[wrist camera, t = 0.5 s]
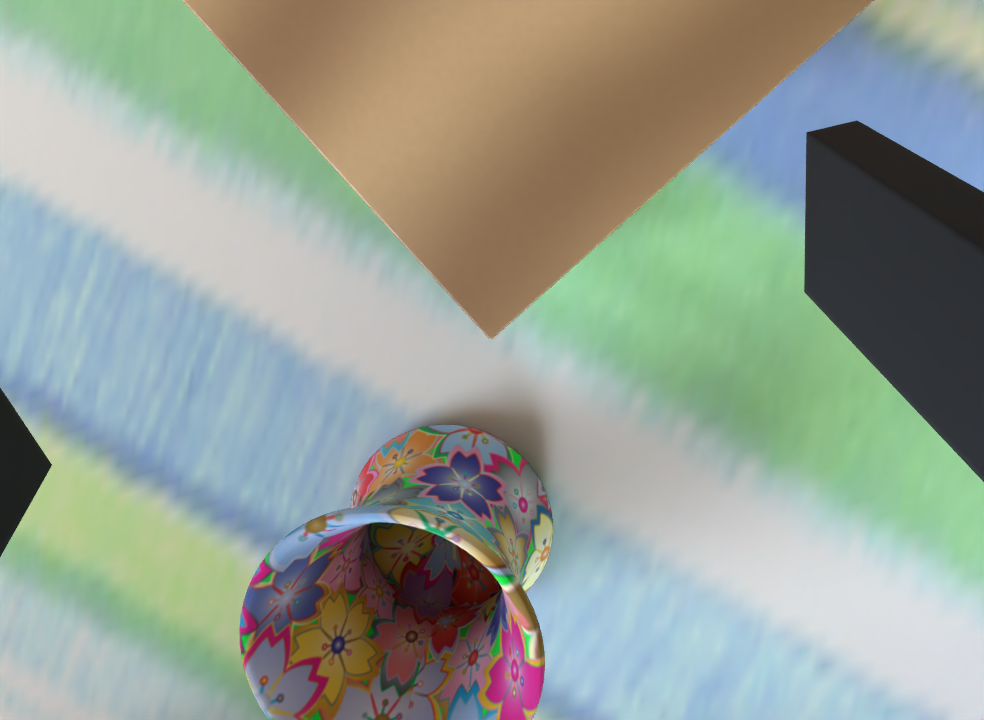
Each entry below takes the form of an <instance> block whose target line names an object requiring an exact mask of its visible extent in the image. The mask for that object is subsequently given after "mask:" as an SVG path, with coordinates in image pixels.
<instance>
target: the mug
mask: <svg viewBox="0 0 984 720" xmlns="http://www.w3.org/2000/svg"><path fill="white" fill-rule="evenodd" d="M552 537H553V519H552V512H551V508H550V503H549V500H548V497H547V494H546V492H545V490H544V487H543V485H542V483H541V481H540V480H539V478H538V476H537V474H536V473H535V472H534V470H533V469H532V467H531V466H530V465H529V464H528V463H527V461H526V460H525V459H524V458H523V457H522V456H521V455H520V454H519V453H518V452H517V451H515V450H514V449H513V448H512V447H510V446H509V445H508V444H506V443H504V442H503V441H501V440H500V439H498V438H496V437H494V436H492V435H490V434H488V433H485V432H483V431H480V430H477V429H473V428H470V427H465V426H458V425H432V426H426V427H421V428H417V429H414V430H411V431H408V432H406V433H403V434H401V435H399V436H397V437H395V438H394V439H392V440H390V441H389V442H388V443H386V444H385V445H383V446H382V447H381V448H380V449H379V450H378V451H377V452H376V453H375V454H374V455H373V456H372V457H371V458H370V459H369V461H368V462H367V463H366V465H365V466H364V468H363V470H362V471H361V473H360V475H359V477H358V479H357V482H356V485H355V487H354V491H353V495H352V500H351V508H347V509H342V510H338V511H335V512H331V513H328V514H325V515H322V516H320V517H318V518H315V519H313V520H311V521H309V522H307V523H305V524H303V525H301V526H300V527H298V528H297V529H295V530H294V531H292V532H291V533H289V534H288V535H287V536H286V537H285V538H283V539H282V540H281V541H280V542H279V543H278V544H277V545H276V546H275V547H274V548H273V549H272V550H271V551H270V552H269V553H268V555H267V556H266V557H265V559H264V560H263V561H262V563H261V564H260V565H259V567H258V569H257V571H256V572H255V574H254V576H253V578H252V580H251V582H250V585H249V587H248V589H247V592H246V596H245V599H244V602H243V607H242V613H241V620H240V648H241V656H242V661H243V665H244V670H245V673H246V676H247V679H248V682H249V685H250V687H251V689H252V692H253V694H254V696H255V698H256V700H257V702H258V703H259V705H260V707H261V709H262V710H263V712H264V713H265V715H266V716H267V718H268V719H269V720H532V719H533V717H534V714H535V712H536V710H537V707H538V704H539V700H540V697H541V693H542V687H543V682H544V671H545V655H544V646H543V639H542V634H541V630H540V626H539V623H538V620H537V617H536V614H535V612H534V609H533V607H532V605H531V603H530V600H529V598H528V596H527V594H526V592H527V591H528V589H529V588H530V587H531V586H532V585H533V584H534V583H535V581H536V580H537V578H538V577H539V575H540V574H541V572H542V570H543V568H544V566H545V564H546V562H547V559H548V556H549V553H550V550H551V544H552Z"/></svg>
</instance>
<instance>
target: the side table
mask: <svg viewBox="0 0 984 720" xmlns="http://www.w3.org/2000/svg"><path fill="white" fill-rule="evenodd" d="M183 1H184V3H185V4H186V5H187V6H188V7H189V8H190V9H191V10H192V11H193V13H194V14H195V15H196V16H197V17H198V18H199V19H200V20H201V21H202V22H203V24H204V25H205V26H206V27H207V28H208V29H209V30H210V31H211V32H212V34H213V35H214V36H215V37H216V38H217V39H218V40H219V41H220V42H221V43H222V45H223V46H224V47H225V48H226V49H227V50H228V51H229V52H230V53H231V55H232V56H233V57H234V58H235V59H236V60H237V61H238V62H239V63H240V64H241V66H242V67H243V68H244V69H245V70H246V71H247V72H248V73H249V74H250V76H251V77H252V78H253V79H254V80H255V81H256V82H257V83H258V84H259V85H260V87H261V88H262V89H263V90H264V91H265V92H266V93H267V94H268V95H269V96H270V98H271V99H272V100H273V101H274V102H275V103H276V104H277V105H278V106H279V108H280V109H281V110H282V111H283V112H284V113H285V114H286V115H287V116H288V117H289V119H290V120H291V121H292V122H293V123H294V124H295V125H296V126H297V127H298V129H299V130H300V131H301V132H302V133H303V134H304V135H305V136H306V137H307V138H308V140H309V141H310V142H311V143H312V144H313V145H314V146H315V147H316V148H317V150H318V151H319V152H320V153H321V154H322V155H323V156H324V157H325V158H326V159H327V161H328V162H329V163H330V164H331V165H332V166H333V167H334V168H335V169H336V171H337V172H338V173H339V174H340V175H341V176H342V177H343V178H344V179H345V180H346V182H347V183H348V184H349V185H350V186H351V187H352V188H353V189H354V190H355V191H356V193H357V194H358V195H359V196H360V197H361V198H362V199H363V200H364V201H365V203H366V204H367V205H368V206H369V207H370V208H371V209H372V210H373V211H374V212H375V214H376V215H377V216H378V217H379V218H380V219H381V220H382V221H383V222H384V224H385V225H386V226H387V227H388V228H389V229H390V230H391V231H392V232H393V233H394V235H395V236H396V237H397V238H398V239H399V240H400V241H401V242H402V243H403V245H404V246H405V247H406V248H407V249H408V250H409V251H410V252H411V253H412V254H413V256H414V257H415V258H416V259H417V260H418V261H419V262H420V263H421V264H422V266H423V267H424V268H425V269H426V270H427V271H428V272H429V273H430V274H431V275H432V277H433V278H434V279H435V280H436V281H437V282H438V283H439V284H440V285H441V286H442V288H443V289H444V290H445V291H446V292H447V293H448V294H449V295H450V296H451V298H452V299H453V300H454V301H455V302H456V303H457V304H458V305H459V306H460V307H461V309H462V310H463V311H464V312H465V313H466V314H467V315H468V316H469V317H470V319H471V320H472V321H473V322H474V323H475V324H476V325H477V326H478V327H479V328H480V330H481V331H482V332H483V333H484V334H485V335H486V336H487V337H488V338H489V339H493V338H494V337H495V336H496V335H498V334H499V333H500V332H501V331H502V330H503V329H504V328H505V327H507V326H508V325H509V324H510V323H511V322H512V321H513V320H514V319H516V318H517V317H518V316H519V315H520V314H521V313H522V312H523V311H525V310H526V309H527V308H528V307H529V306H530V305H531V304H533V303H534V302H535V301H536V300H537V299H538V298H539V297H540V296H542V295H543V294H544V293H545V292H546V291H547V290H548V289H549V288H551V287H552V286H553V285H554V284H555V283H556V282H557V281H558V280H560V279H561V278H562V277H563V276H564V275H565V274H566V273H567V272H569V271H570V270H571V269H572V268H573V267H574V266H575V265H576V264H578V263H579V262H580V261H581V260H582V259H583V258H584V257H585V256H587V255H588V254H589V253H590V252H591V251H592V250H593V249H594V248H596V247H597V246H598V245H599V244H600V243H601V242H602V241H603V240H605V239H606V238H607V237H608V236H609V235H610V234H611V233H613V232H614V231H615V230H616V229H617V228H618V227H619V226H620V225H622V224H623V223H624V222H625V221H626V220H627V219H628V218H629V217H631V216H632V215H633V214H634V213H635V212H636V211H637V210H638V209H640V208H641V207H642V206H643V205H644V204H645V203H646V202H647V201H649V200H650V199H651V198H652V197H653V196H654V195H655V194H656V193H658V192H659V191H660V190H661V189H662V188H663V187H664V186H665V185H667V184H668V183H669V182H670V181H671V180H672V179H673V178H674V177H676V176H677V175H678V174H679V173H680V172H681V171H682V170H683V169H685V168H686V167H687V166H688V165H689V164H690V163H691V162H693V161H694V160H695V159H696V158H697V157H698V156H699V155H700V154H702V153H703V152H704V151H705V150H706V149H707V148H708V147H709V146H711V145H712V144H713V143H714V142H715V141H716V140H717V139H718V138H720V137H721V136H722V135H723V134H724V133H725V132H726V131H727V130H729V129H730V128H731V127H732V126H733V125H734V124H735V123H736V122H738V121H739V120H740V119H741V118H742V117H743V116H744V115H745V114H747V113H748V112H749V111H750V110H751V109H752V108H753V107H754V106H756V105H757V104H758V103H759V102H760V101H761V100H762V99H763V98H765V97H766V96H767V95H768V94H769V93H770V92H771V91H773V90H774V89H775V88H776V87H777V86H778V85H779V84H780V83H782V82H783V81H784V80H785V79H786V78H787V77H788V76H789V75H791V74H792V73H793V72H794V71H795V70H796V69H797V68H798V67H800V66H801V65H802V64H803V63H804V62H805V61H806V60H807V59H809V58H810V57H811V56H812V55H813V54H814V53H815V52H816V51H818V50H819V49H820V48H821V47H822V46H823V45H824V44H825V43H827V42H828V41H829V40H830V39H831V38H832V37H833V36H834V35H836V34H837V33H838V32H839V31H840V30H841V29H842V28H843V27H845V26H846V25H847V24H848V23H849V22H850V21H851V20H853V19H854V18H855V17H856V16H857V15H858V14H859V13H860V12H862V11H863V10H864V9H865V8H866V7H867V6H868V5H869V4H871V3H872V2H873V1H874V0H183Z"/></svg>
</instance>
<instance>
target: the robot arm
mask: <svg viewBox="0 0 984 720" xmlns="http://www.w3.org/2000/svg"><path fill="white" fill-rule="evenodd" d="M804 292H805V293H806V294H807V295H808V296H809V297H810V298H811V300H812V301H813V302H814V303H815V304H816V305H817V306H818V307H819V308H820V309H821V310H822V311H823V312H824V313H825V314H826V315H827V316H828V318H829V319H830V320H831V321H832V322H833V323H834V324H835V325H836V326H837V327H838V328H839V329H840V330H841V331H842V332H843V333H844V334H845V335H846V337H847V338H848V339H849V340H850V341H851V342H852V343H853V344H854V345H855V346H856V347H857V348H858V349H859V350H860V351H861V352H862V353H863V355H864V356H865V357H866V358H867V359H868V360H869V361H870V362H871V363H872V364H873V365H874V366H875V367H876V368H877V369H878V370H879V371H880V373H881V374H882V375H883V376H884V377H885V378H886V379H887V380H888V381H889V382H890V383H891V384H892V385H893V386H894V387H895V388H896V389H897V391H898V392H899V393H900V394H901V395H902V396H903V397H904V398H905V399H906V400H907V401H908V402H909V403H910V404H911V405H912V406H913V407H914V409H915V410H916V411H917V412H918V413H919V414H920V415H921V416H922V417H923V418H924V419H925V420H926V421H927V422H928V423H929V424H930V425H931V427H932V428H933V429H934V430H935V431H936V432H937V433H938V434H939V435H940V436H941V437H942V438H943V439H944V440H945V441H946V442H947V443H948V445H949V446H950V447H951V448H952V449H953V450H954V451H955V452H956V453H957V454H958V455H959V456H960V457H961V458H962V459H963V460H964V461H965V462H966V464H967V465H968V466H969V467H970V468H971V469H972V470H973V471H974V472H975V473H976V474H977V475H978V476H979V477H980V478H981V479H982V480H983V482H984V192H982V191H980V190H978V189H977V188H975V187H973V186H971V185H970V184H968V183H966V182H964V181H963V180H961V179H959V178H957V177H956V176H954V175H952V174H950V173H949V172H947V171H945V170H943V169H941V168H940V167H938V166H936V165H934V164H933V163H931V162H929V161H927V160H926V159H924V158H922V157H920V156H919V155H917V154H915V153H913V152H912V151H910V150H908V149H906V148H905V147H903V146H901V145H899V144H897V143H896V142H894V141H892V140H890V139H889V138H887V137H885V136H883V135H882V134H880V133H878V132H876V131H875V130H873V129H871V128H869V127H868V126H866V125H864V124H862V123H860V122H859V121H853V122H849V123H845V124H841V125H836V126H832V127H828V128H823V129H819V130H815V131H811V132H807V143H806V214H805V285H804ZM51 466H52V464H51V463H50V461H49V460H48V458H47V457H46V455H45V454H44V452H43V451H42V449H41V448H40V446H39V445H38V443H37V442H36V440H35V439H34V437H33V436H32V434H31V433H30V431H29V430H28V428H27V427H26V425H25V424H24V422H23V421H22V419H21V418H20V416H19V415H18V413H17V412H16V410H15V409H14V407H13V406H12V404H11V403H10V401H9V400H8V398H7V397H6V396H5V394H4V393H3V391H2V390H1V388H0V557H1V555H2V553H3V551H4V549H5V548H6V546H7V544H8V542H9V541H10V539H11V537H12V535H13V533H14V532H15V530H16V528H17V526H18V525H19V523H20V521H21V519H22V517H23V516H24V514H25V512H26V510H27V509H28V507H29V505H30V503H31V501H32V500H33V498H34V496H35V494H36V493H37V491H38V489H39V487H40V485H41V484H42V482H43V480H44V478H45V477H46V475H47V473H48V471H49V469H50V468H51Z"/></svg>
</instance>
